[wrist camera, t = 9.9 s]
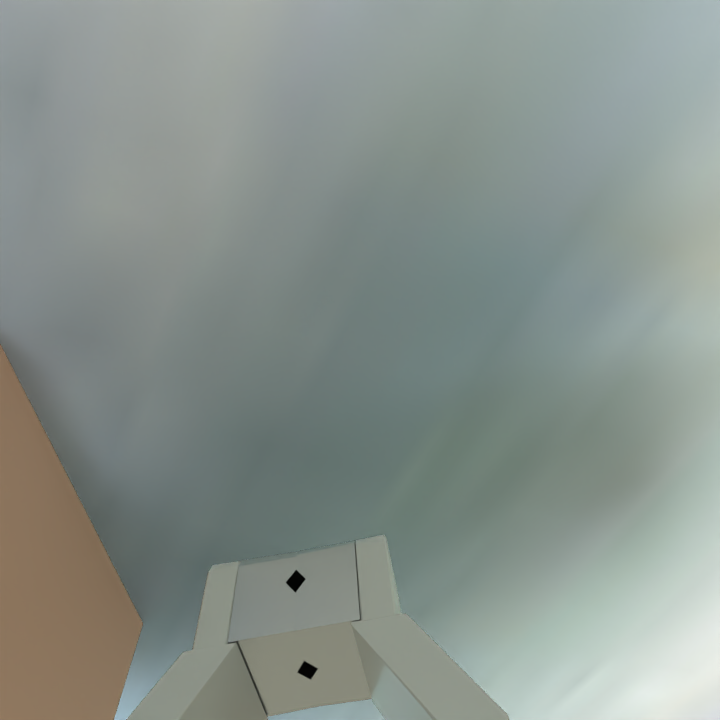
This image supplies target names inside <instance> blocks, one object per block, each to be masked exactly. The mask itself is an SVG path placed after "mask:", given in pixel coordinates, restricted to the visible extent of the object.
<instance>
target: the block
mask: <svg viewBox="0 0 720 720" xmlns="http://www.w3.org/2000/svg"><path fill="white" fill-rule="evenodd" d="M142 626H143V622H142V620H141V618H140V616H139V614H138V612H137V611H136V609H135V607H134V605H133V603H132V601H131V599H130V597H129V595H128V593H127V591H126V589H125V587H124V585H123V583H122V581H121V579H120V577H119V575H118V573H117V571H116V569H115V567H114V566H113V564H112V562H111V560H110V558H109V556H108V554H107V552H106V550H105V548H104V546H103V544H102V542H101V540H100V538H99V536H98V534H97V532H96V530H95V528H94V526H93V524H92V522H91V521H90V519H89V517H88V515H87V513H86V511H85V509H84V507H83V505H82V503H81V501H80V499H79V497H78V495H77V493H76V491H75V489H74V487H73V485H72V483H71V481H70V479H69V478H68V476H67V474H66V472H65V470H64V468H63V466H62V464H61V462H60V460H59V458H58V456H57V454H56V452H55V450H54V448H53V446H52V444H51V442H50V440H49V438H48V436H47V434H46V433H45V431H44V429H43V427H42V425H41V423H40V421H39V419H38V417H37V415H36V413H35V411H34V409H33V407H32V405H31V403H30V401H29V399H28V397H27V395H26V393H25V391H24V389H23V388H22V386H21V384H20V382H19V380H18V378H17V376H16V374H15V372H14V370H13V368H12V366H11V364H10V362H9V360H8V358H7V356H6V354H5V352H4V350H3V348H2V346H1V344H0V720H114V717H115V714H116V711H117V707H118V704H119V701H120V698H121V694H122V691H123V688H124V685H125V681H126V678H127V675H128V671H129V668H130V665H131V662H132V658H133V655H134V652H135V649H136V645H137V642H138V639H139V636H140V632H141V629H142Z"/></svg>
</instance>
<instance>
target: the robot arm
mask: <svg viewBox="0 0 720 720" xmlns="http://www.w3.org/2000/svg"><path fill="white" fill-rule="evenodd" d="M367 699H372V702H373V703H374V704H375V706H376V707H377V709H378V710H379V711H380V713H381V714H382V716H383V717H384V718H385V720H509V717H508V714H507V713H506V712H505V711H504V710H503V709H502V708H501V707H500V706H499V705H498V704H497V703H495V702H494V701H493V700H492V699H491V698H490V697H489V696H488V695H487V694H486V693H485V692H484V691H483V690H482V689H481V688H480V687H479V686H478V685H477V684H476V683H475V682H474V681H473V680H472V679H471V678H470V677H469V676H468V675H467V674H466V673H465V672H464V671H463V670H462V669H461V668H460V667H459V666H458V665H457V664H456V663H455V662H454V661H453V660H452V659H451V658H450V657H449V656H448V655H447V654H446V653H445V652H444V651H443V650H442V649H441V648H440V647H439V646H438V645H437V644H436V643H435V642H434V641H433V640H432V639H431V638H430V637H429V636H428V635H427V634H426V633H425V632H424V631H423V630H422V629H421V628H420V627H419V626H418V625H417V624H416V623H415V622H414V621H413V620H412V619H411V618H410V617H409V616H408V615H407V614H406V613H403V614H402V612H401V607H400V601H399V596H398V591H397V586H396V581H395V576H394V571H393V566H392V562H391V557H390V552H389V547H388V542H387V538H386V535H379V536H374V537H369V538H363V539H358V540H354V541H348V542H343V543H338V544H332V545H327V546H322V547H316V548H311V549H306V550H300V551H297V552H290V553H284V554H277V555H271V556H264V557H258V558H251V559H245V560H242V561H236V562H229V563H222V564H216V565H212V567H211V569H210V570H209V572H208V574H207V579H206V584H205V589H204V594H203V599H202V604H201V609H200V614H199V619H198V624H197V628H196V633H195V638H194V643H193V648H192V650H190V651H185V652H183V653H182V654H181V655H180V656H179V657H178V659H177V660H176V661H175V662H174V663H173V665H172V666H171V667H170V668H169V669H168V671H167V672H166V673H165V674H164V675H163V676H162V678H161V679H160V680H159V681H158V682H157V684H156V685H155V686H154V687H153V688H152V690H151V691H150V692H149V693H148V694H147V696H146V697H145V698H144V699H143V700H142V702H141V703H140V704H139V705H138V706H137V707H136V709H135V710H134V711H133V712H132V713H131V715H130V716H129V717H128V718H127V719H126V720H268V718H267V717H268V716H273V715H278V714H283V713H288V712H293V711H298V710H303V709H308V708H313V707H318V706H324V705H331V704H338V703H346V702H353V701H360V700H367Z"/></svg>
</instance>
